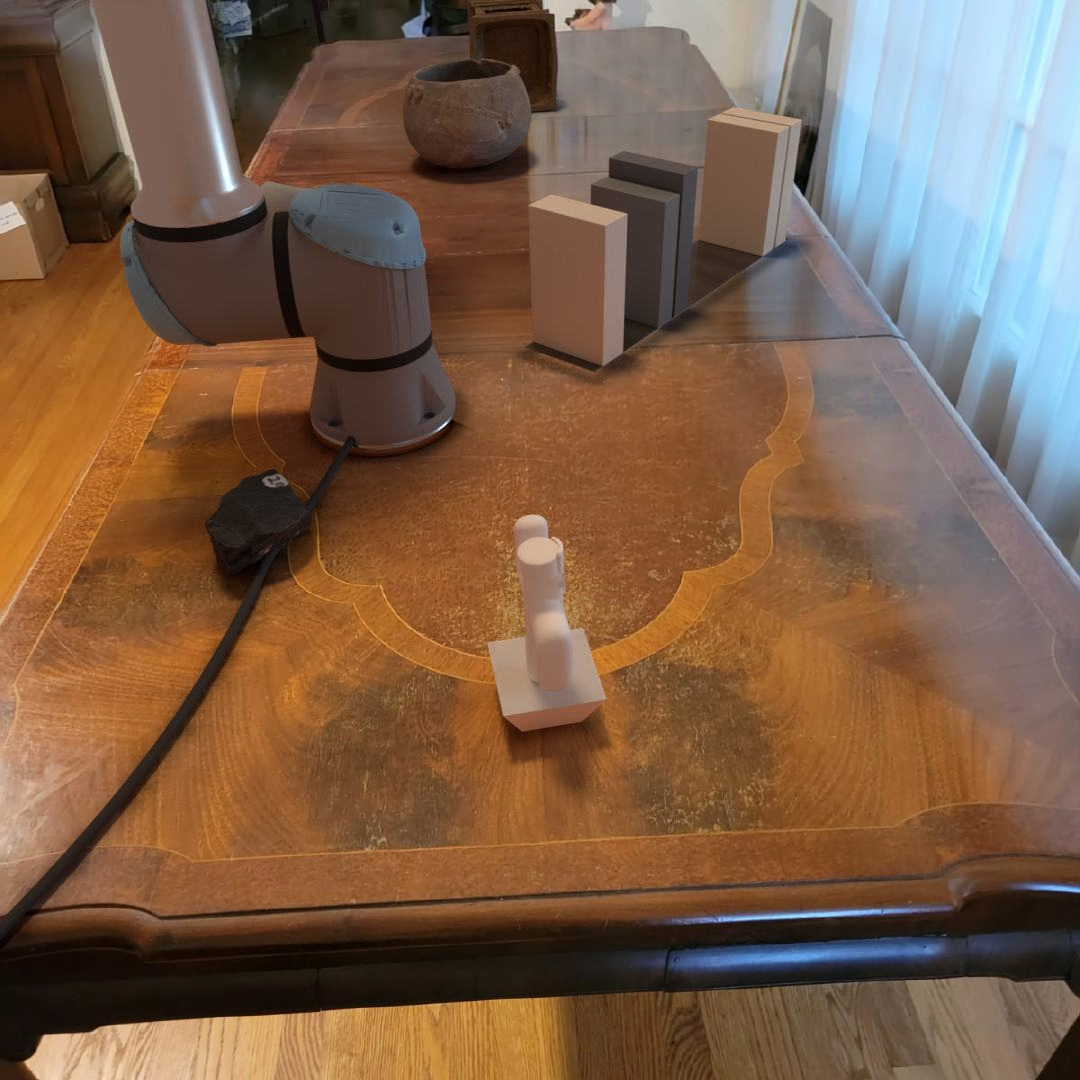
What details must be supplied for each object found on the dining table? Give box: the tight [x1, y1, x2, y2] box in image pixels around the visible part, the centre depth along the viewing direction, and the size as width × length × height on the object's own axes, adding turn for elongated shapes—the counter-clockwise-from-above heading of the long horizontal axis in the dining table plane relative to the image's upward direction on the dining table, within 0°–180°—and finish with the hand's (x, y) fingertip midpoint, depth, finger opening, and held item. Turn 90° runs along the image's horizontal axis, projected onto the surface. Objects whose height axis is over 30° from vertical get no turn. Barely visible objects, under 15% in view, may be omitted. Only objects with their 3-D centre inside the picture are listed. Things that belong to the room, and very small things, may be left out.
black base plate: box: [524, 237, 790, 373], centre depth 124 cm, size 46×10×1 cm, turn 142°
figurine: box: [487, 514, 607, 732], centre depth 67 cm, size 7×9×15 cm
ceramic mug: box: [259, 181, 307, 212], centre depth 141 cm, size 11×8×8 cm
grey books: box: [590, 150, 699, 329], centre depth 115 cm, size 6×10×17 cm, turn 52°
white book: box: [528, 193, 628, 367], centre depth 107 cm, size 4×10×16 cm, turn 52°
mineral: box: [204, 467, 313, 577], centre depth 86 cm, size 10×9×6 cm
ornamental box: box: [466, 0, 559, 113], centre depth 197 cm, size 35×18×18 cm, turn 5°
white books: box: [697, 107, 803, 257], centre depth 130 cm, size 6×10×16 cm, turn 52°
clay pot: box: [402, 58, 532, 169], centre depth 162 cm, size 21×21×15 cm
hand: (268, 46), depth 123 cm, fingers open, 13 cm apart
